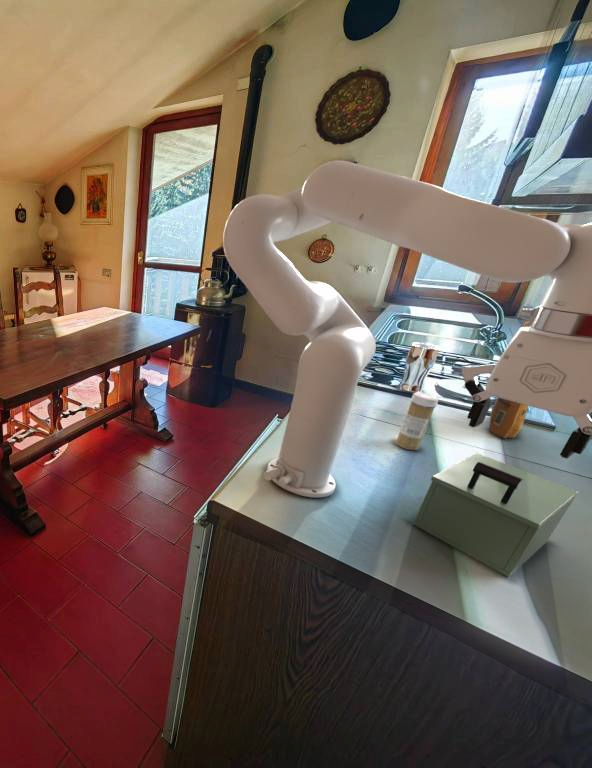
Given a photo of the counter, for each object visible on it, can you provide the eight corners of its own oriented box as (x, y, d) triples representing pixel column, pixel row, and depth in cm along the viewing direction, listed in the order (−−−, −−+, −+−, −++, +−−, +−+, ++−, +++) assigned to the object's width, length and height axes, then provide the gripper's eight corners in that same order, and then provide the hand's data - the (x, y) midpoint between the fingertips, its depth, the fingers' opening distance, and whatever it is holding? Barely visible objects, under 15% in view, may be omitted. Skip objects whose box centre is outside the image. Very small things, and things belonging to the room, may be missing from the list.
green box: (508, 577, 59) (538, 527, 55) (412, 524, 69) (432, 478, 66) (546, 542, 66) (575, 496, 62) (453, 498, 76) (474, 456, 72)
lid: (536, 529, 55) (555, 498, 53) (430, 480, 65) (442, 452, 63) (575, 495, 62) (593, 467, 60) (474, 456, 72) (486, 430, 70)
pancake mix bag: (480, 434, 100) (530, 328, 89) (482, 411, 112) (526, 316, 102) (517, 444, 96) (575, 334, 85) (515, 419, 108) (565, 320, 97)
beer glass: (390, 386, 129) (406, 343, 123) (405, 384, 131) (421, 341, 125) (412, 395, 122) (430, 349, 117) (428, 392, 124) (446, 348, 119)
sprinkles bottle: (421, 447, 94) (442, 396, 88) (413, 452, 91) (435, 401, 86) (398, 439, 97) (418, 389, 92) (391, 444, 95) (410, 394, 90)
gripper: (476, 314, 56) (433, 419, 62) (685, 345, 42) (602, 477, 48) (497, 309, 59) (455, 410, 66) (698, 337, 45) (619, 462, 52)
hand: (517, 438), depth 57 cm, fingers open, 9 cm apart
